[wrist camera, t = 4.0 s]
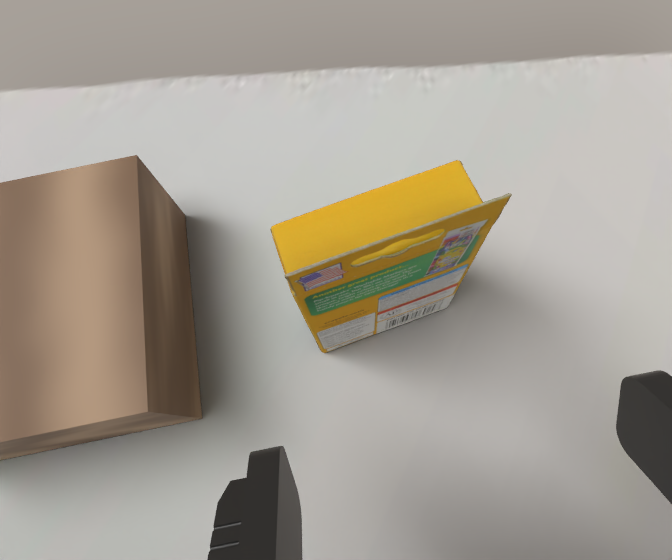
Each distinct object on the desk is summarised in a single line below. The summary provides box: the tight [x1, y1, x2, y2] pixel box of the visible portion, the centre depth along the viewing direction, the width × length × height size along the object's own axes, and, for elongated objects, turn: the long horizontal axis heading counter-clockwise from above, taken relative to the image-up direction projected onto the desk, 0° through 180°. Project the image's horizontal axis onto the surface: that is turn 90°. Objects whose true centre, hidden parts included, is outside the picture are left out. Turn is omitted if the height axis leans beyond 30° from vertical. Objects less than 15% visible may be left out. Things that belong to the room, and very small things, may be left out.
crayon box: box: [271, 160, 512, 353], centre depth 19 cm, size 7×3×12 cm, turn 110°
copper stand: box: [0, 155, 202, 460], centre depth 22 cm, size 12×12×6 cm
